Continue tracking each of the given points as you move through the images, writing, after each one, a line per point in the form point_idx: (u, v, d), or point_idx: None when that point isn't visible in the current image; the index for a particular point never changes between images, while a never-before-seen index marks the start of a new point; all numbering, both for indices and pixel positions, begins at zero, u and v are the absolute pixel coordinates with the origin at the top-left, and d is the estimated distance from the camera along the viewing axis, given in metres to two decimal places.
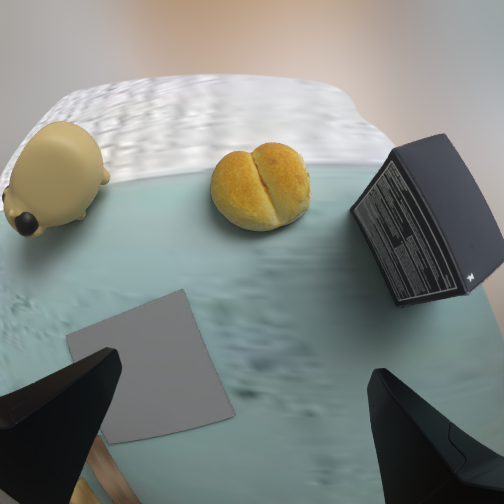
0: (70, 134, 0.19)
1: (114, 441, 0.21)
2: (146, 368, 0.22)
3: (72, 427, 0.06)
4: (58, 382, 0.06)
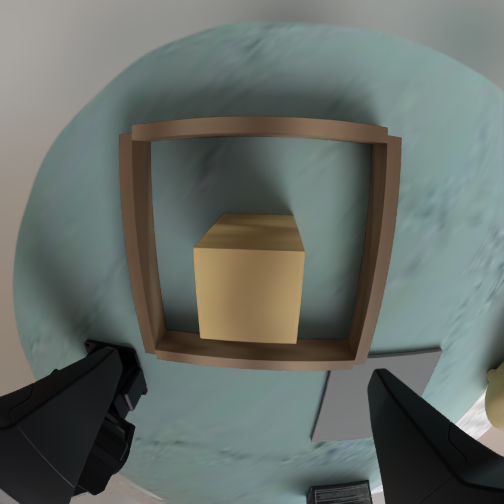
0: None
1: None
2: None
3: (72, 427, 0.06)
4: (58, 382, 0.06)
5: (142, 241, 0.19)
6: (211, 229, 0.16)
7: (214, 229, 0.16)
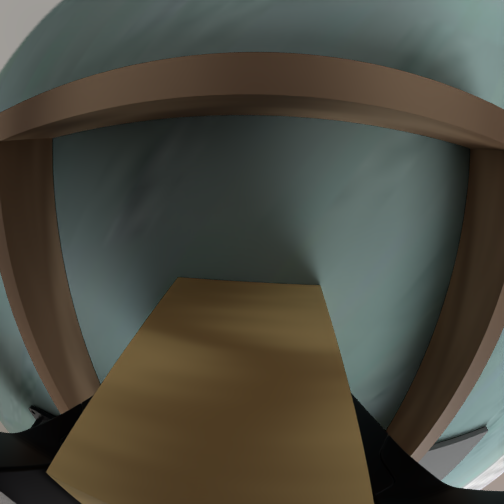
0: None
1: None
2: None
3: None
4: None
5: (42, 322, 0.09)
6: (124, 360, 0.06)
7: (130, 360, 0.06)
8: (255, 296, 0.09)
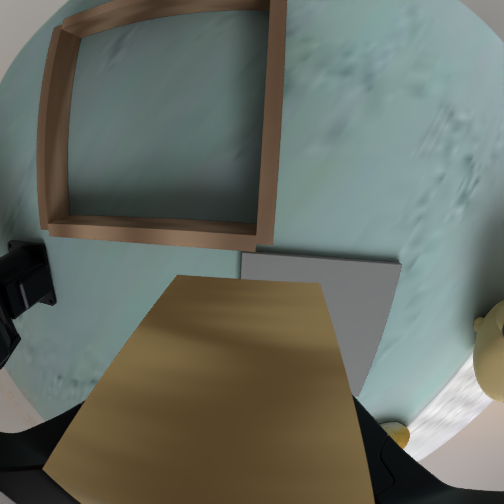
0: None
1: (244, 265, 0.20)
2: None
3: None
4: None
5: (53, 109, 0.15)
6: (122, 357, 0.05)
7: (128, 357, 0.06)
8: (254, 293, 0.09)
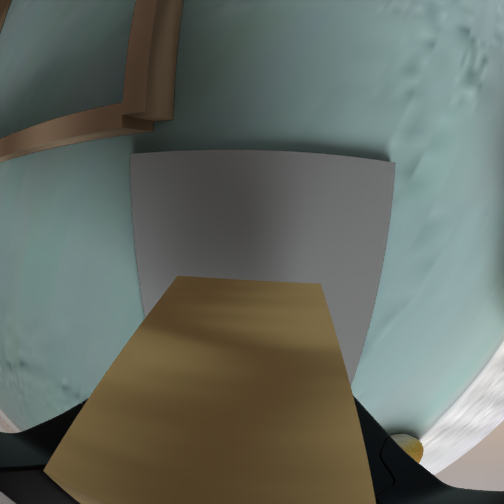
0: None
1: (133, 173, 0.12)
2: None
3: None
4: None
5: None
6: (123, 358, 0.05)
7: (129, 358, 0.05)
8: (255, 294, 0.09)
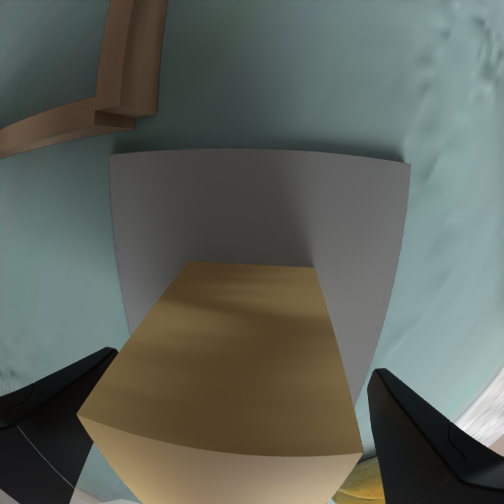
0: None
1: (113, 177, 0.10)
2: None
3: (72, 427, 0.06)
4: (58, 382, 0.06)
5: None
6: (145, 323, 0.07)
7: (150, 324, 0.07)
8: (257, 275, 0.10)
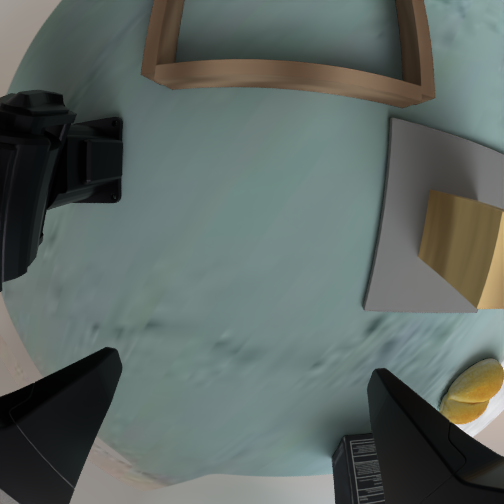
0: None
1: (394, 131, 0.16)
2: None
3: (72, 427, 0.06)
4: (58, 382, 0.06)
5: None
6: (468, 200, 0.12)
7: (469, 200, 0.12)
8: (466, 198, 0.15)
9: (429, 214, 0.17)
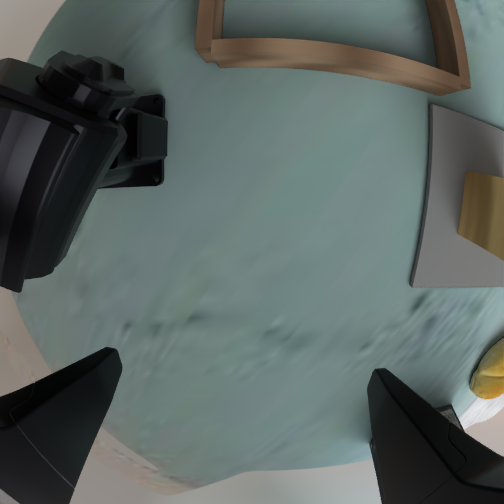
0: None
1: (435, 117, 0.15)
2: None
3: (72, 427, 0.06)
4: (58, 382, 0.06)
5: None
6: None
7: None
8: None
9: (467, 193, 0.16)
